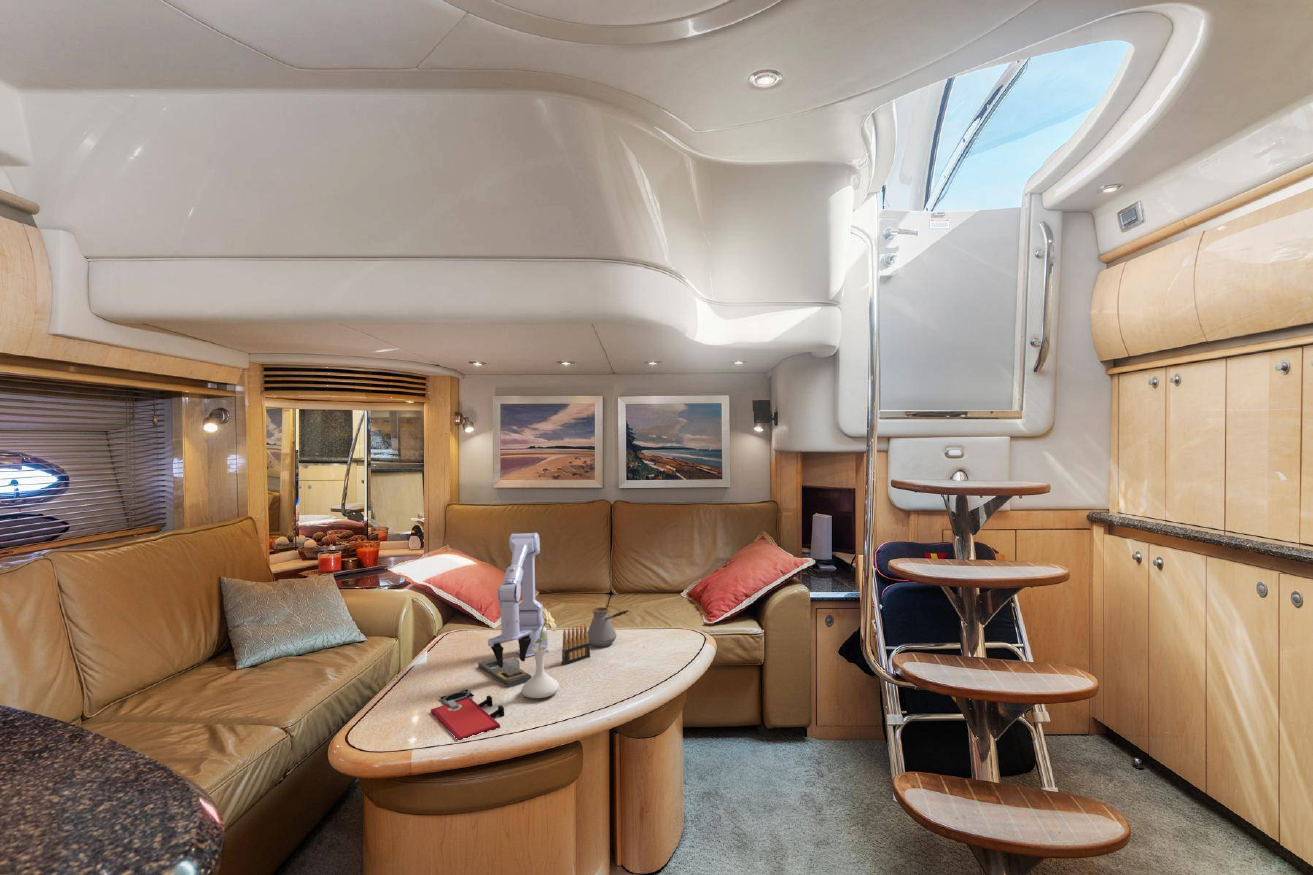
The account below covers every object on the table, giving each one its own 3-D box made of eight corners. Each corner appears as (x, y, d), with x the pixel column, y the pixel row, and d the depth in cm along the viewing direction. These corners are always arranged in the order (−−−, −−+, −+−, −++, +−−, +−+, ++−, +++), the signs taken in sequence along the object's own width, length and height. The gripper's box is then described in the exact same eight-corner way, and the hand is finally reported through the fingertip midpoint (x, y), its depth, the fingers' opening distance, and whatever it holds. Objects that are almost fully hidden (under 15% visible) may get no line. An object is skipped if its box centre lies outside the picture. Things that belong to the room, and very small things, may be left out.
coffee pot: (579, 644, 225) (578, 604, 226) (602, 636, 234) (601, 598, 234) (619, 656, 211) (617, 614, 211) (641, 648, 219) (640, 606, 220)
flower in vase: (547, 704, 174) (544, 617, 174) (513, 699, 178) (511, 615, 178) (569, 686, 186) (566, 605, 186) (537, 682, 190) (534, 603, 190)
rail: (500, 661, 210) (500, 656, 211) (531, 680, 192) (531, 675, 192) (478, 667, 206) (478, 662, 206) (508, 687, 187) (508, 682, 187)
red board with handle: (473, 690, 186) (423, 705, 177) (472, 681, 186) (422, 695, 177) (513, 725, 162) (458, 744, 153) (513, 714, 162) (457, 733, 153)
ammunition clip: (587, 655, 213) (586, 622, 213) (590, 657, 212) (589, 623, 212) (561, 664, 206) (560, 629, 206) (565, 665, 204) (563, 630, 205)
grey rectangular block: (514, 675, 197) (513, 657, 197) (519, 678, 194) (519, 660, 194) (503, 678, 195) (502, 660, 195) (508, 682, 191) (507, 663, 192)
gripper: (493, 629, 187) (495, 672, 186) (536, 619, 196) (537, 661, 195) (484, 624, 192) (486, 666, 192) (526, 614, 201) (527, 655, 201)
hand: (511, 663), depth 194 cm, fingers open, 7 cm apart
